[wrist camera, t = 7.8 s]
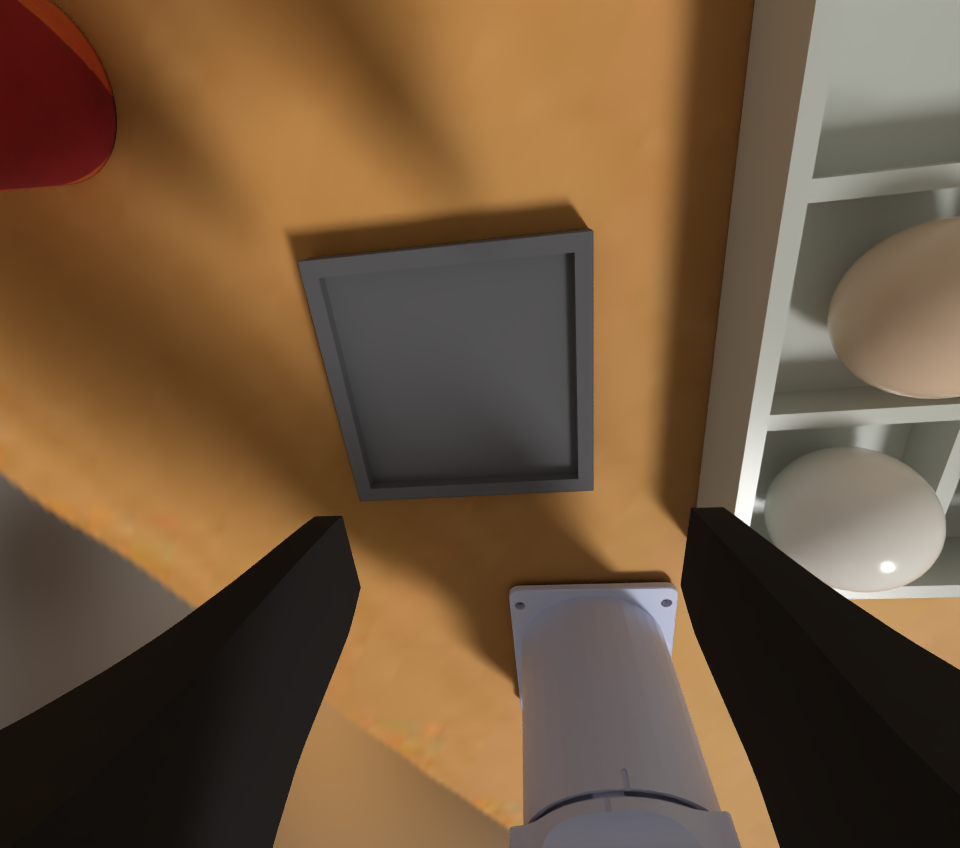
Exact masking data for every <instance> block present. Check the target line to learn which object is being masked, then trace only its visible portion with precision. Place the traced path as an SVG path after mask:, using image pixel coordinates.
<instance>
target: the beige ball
mask: <svg viewBox="0 0 960 848" xmlns="http://www.w3.org/2000/svg"><path fill="white" fill-rule="evenodd" d="M827 325H828V334H829V338H830V341H831V344H832V347H833V349H834V351H835V353H836V354H837V356H838V358H839V359H840V361H841V362H842V363H843V364H844V365H845V366H846V368H847V369H848V370H849V371H850V372H852V373H853V374H854V375H855V376H857V377H858V378H859V379H861V380H862V381H864V382H866V383H868V384H869V385H871V386H873V387H876V388H878V389H881V390H883V391H886V392H888V393H892V394H896V395H900V396H906V397H913V398H928V399H940V398H952V397H959V396H960V215H958V216H948V217H943V218H937V219H933V220H929V221H925V222H922V223H919V224H915V225H913V226H910V227H908V228H905V229H903V230H901V231H898V232H896V233H894V234H892V235H891V236H889V237H887V238H885V239H884V240H882V241H880V242H878V243H877V244H876V245H874V246H873V247H871V248H870V249H869V250H868V251H866V252H865V253H864V254H863V255H862V256H860V257H859V258H858V259H857V260H856V261H855V262H854V263H853V264H852V265H851V267H850V268H849V269H848V270H847V272H846V273H845V274H844V275H843V277H842V278H841V280H840V281H839V283H838V285H837V287H836V289H835V291H834V293H833V295H832V298H831V301H830V305H829V310H828V321H827Z"/></svg>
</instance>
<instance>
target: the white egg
mask: <svg viewBox="0 0 960 848" xmlns="http://www.w3.org/2000/svg"><path fill="white" fill-rule="evenodd" d="M764 518H765V524H766V528H767V531H768V533H769V536H770V538H771V540H772V542H773V544H774V545H775V546H776V547H777V548H778V549H780V550H781V551H782V552H784V553H785V554H786V555H788V556H789V557H790V558H791V559H793V560H794V561H795V562H797V563H798V564H800V565H801V566H802V567H804V568H805V569H806V570H808V571H809V572H810V573H812V574H813V575H814V576H816V577H817V578H819V579H820V580H821V581H823V582H824V583H826V584H827V585H828V586H830V587H833V588H836V589H840V590H845V591H852V592H865V593H868V592H881V591H887V590H891V589H895V588H898V587H901V586H904V585H906V584H908V583H910V582H912V581H914V580H916V579H917V578H919V577H920V576H922V575H923V574H924V573H925V572H926V571H928V570H929V569H930V568H931V566H932V565H933V564H934V563H935V561H936V560H937V558H938V557H939V555H940V553H941V551H942V549H943V545H944V542H945V537H946V518H945V514H944V511H943V508H942V504H941V502H940V500H939V499H938V497H937V495H936V493H935V491H934V490H933V489H932V487H931V486H930V485H929V484H928V483H927V481H926V480H925V479H924V478H923V477H922V476H921V475H919V474H918V473H917V472H916V471H915V470H913V469H912V468H911V467H910V466H908V465H906V464H905V463H903V462H901V461H900V460H898V459H896V458H894V457H892V456H889V455H887V454H884V453H881V452H879V451H875V450H870V449H866V448H861V447H850V446H837V447H828V448H823V449H818V450H815V451H811V452H809V453H806V454H804V455H802V456H800V457H798V458H796V459H794V460H793V461H791V462H790V463H789V464H787V465H786V466H785V467H784V468H783V469H782V470H781V471H780V472H779V473H778V474H777V475H776V476H775V478H774V479H773V481H772V482H771V484H770V487H769V489H768V491H767V494H766V498H765V505H764Z"/></svg>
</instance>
